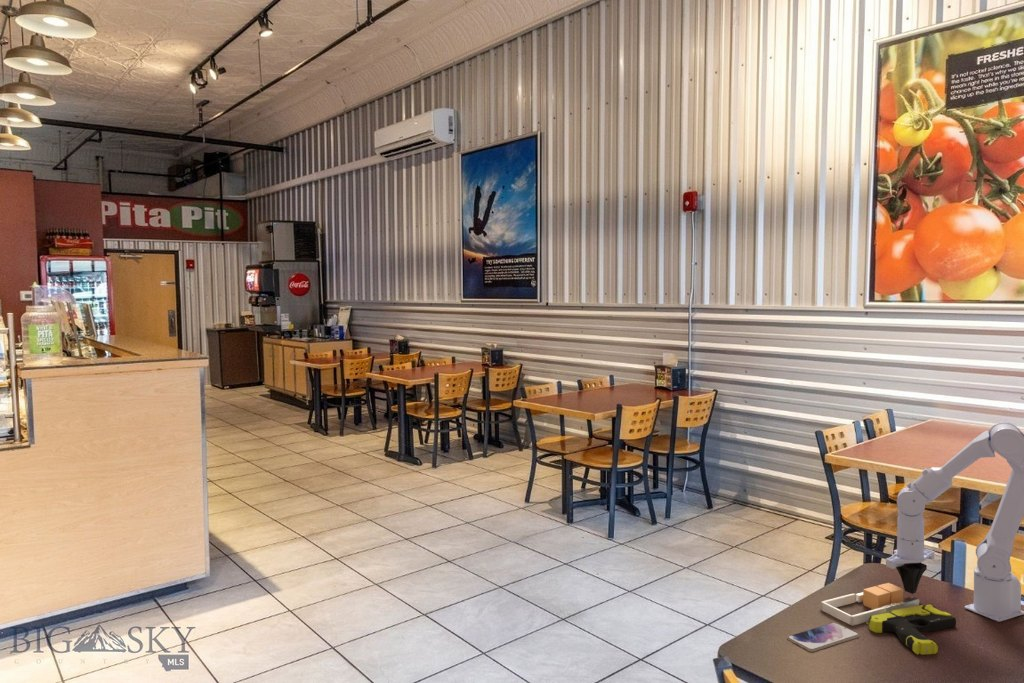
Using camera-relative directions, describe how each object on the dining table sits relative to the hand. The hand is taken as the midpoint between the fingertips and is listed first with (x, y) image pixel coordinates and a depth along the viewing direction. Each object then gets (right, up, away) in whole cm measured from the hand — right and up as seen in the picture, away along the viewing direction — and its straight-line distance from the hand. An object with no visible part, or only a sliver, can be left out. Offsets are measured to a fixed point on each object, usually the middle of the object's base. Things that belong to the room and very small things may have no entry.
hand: (910, 591), depth 167 cm
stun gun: (-7, -3, -18) cm, 19 cm away
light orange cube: (-6, -2, -3) cm, 7 cm away
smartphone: (-30, -4, -18) cm, 35 cm away
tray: (-18, -2, -7) cm, 19 cm away
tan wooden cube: (-11, -2, -4) cm, 12 cm away
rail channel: (-7, -2, -3) cm, 8 cm away
